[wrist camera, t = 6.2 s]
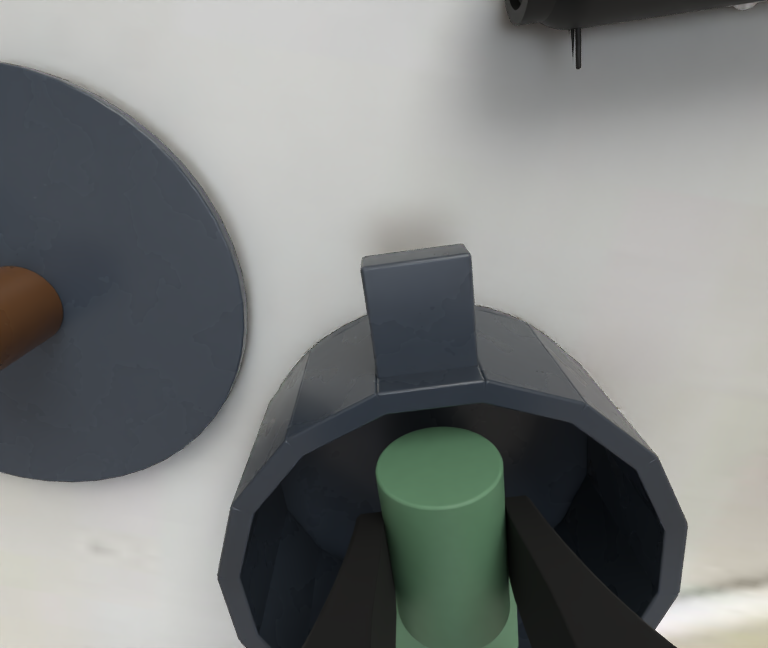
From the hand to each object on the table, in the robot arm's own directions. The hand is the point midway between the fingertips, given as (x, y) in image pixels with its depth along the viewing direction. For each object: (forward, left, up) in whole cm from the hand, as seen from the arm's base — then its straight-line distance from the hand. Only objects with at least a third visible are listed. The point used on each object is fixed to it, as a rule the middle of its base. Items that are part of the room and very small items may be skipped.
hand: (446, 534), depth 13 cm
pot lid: (+6, +12, -5) cm, 14 cm away
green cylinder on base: (-2, 0, -1) cm, 2 cm away
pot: (-2, 0, -5) cm, 6 cm away
